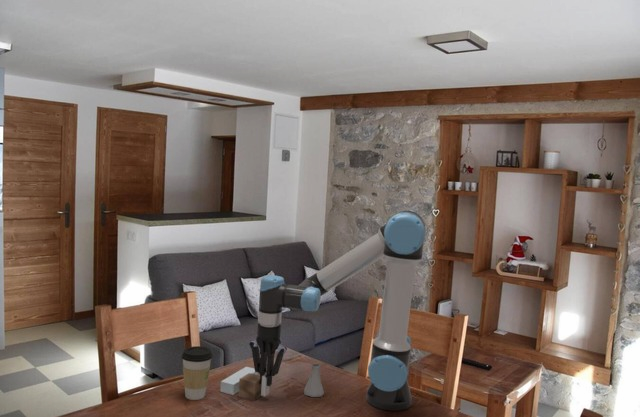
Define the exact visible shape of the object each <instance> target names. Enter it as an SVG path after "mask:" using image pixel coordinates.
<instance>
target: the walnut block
mask: <svg viewBox="0 0 640 417" xmlns="http://www.w3.org/2000/svg"><path fill="white" fill-rule="evenodd" d="M261 387H262V384H260V374H258V375H255V374H251V373H248V374H247V375H245V376H244V377H242V378H240V381H239V392H238V397H239V398H242V399H245V400H249V401H253V402H255V401H257V400H258V399H259V398H261V397H262V396H261Z"/></svg>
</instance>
